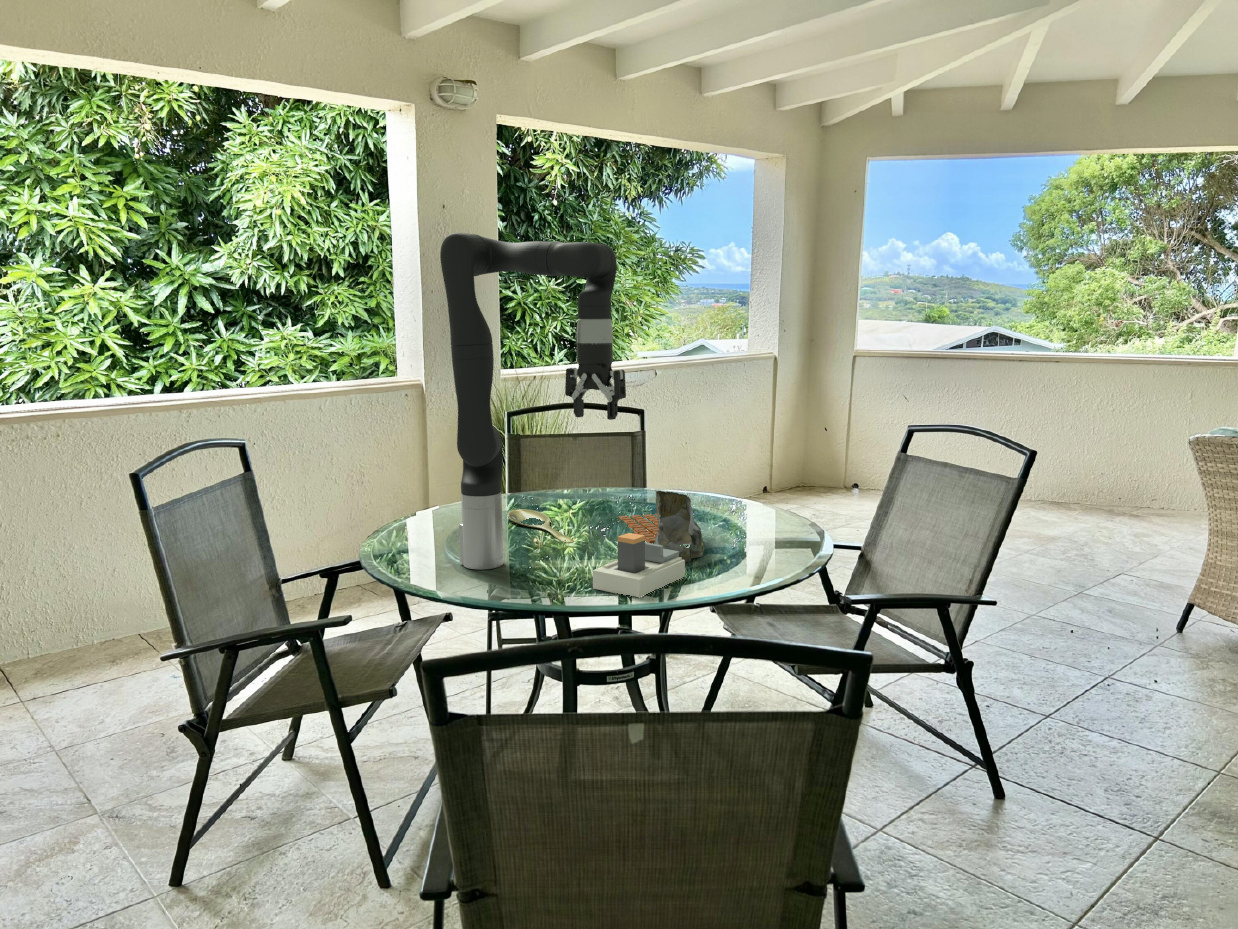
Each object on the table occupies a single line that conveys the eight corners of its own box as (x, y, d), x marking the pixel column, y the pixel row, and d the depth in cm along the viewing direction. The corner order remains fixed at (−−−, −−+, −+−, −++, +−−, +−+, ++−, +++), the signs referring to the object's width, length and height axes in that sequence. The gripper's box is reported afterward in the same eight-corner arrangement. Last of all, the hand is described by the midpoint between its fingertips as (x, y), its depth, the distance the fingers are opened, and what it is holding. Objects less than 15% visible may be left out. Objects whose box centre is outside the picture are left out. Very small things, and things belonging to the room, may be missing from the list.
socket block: (592, 588, 194) (592, 568, 194) (639, 568, 209) (639, 549, 208) (639, 598, 188) (639, 577, 187) (684, 577, 202) (684, 557, 201)
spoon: (588, 547, 236) (588, 539, 235) (551, 552, 230) (551, 544, 230) (534, 512, 265) (534, 505, 265) (499, 517, 260) (499, 510, 260)
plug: (629, 577, 199) (629, 532, 197) (645, 580, 196) (645, 535, 194) (617, 582, 195) (617, 536, 194) (633, 585, 193) (633, 539, 191)
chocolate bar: (664, 517, 264) (664, 512, 263) (701, 542, 235) (701, 537, 235) (616, 520, 260) (616, 515, 259) (648, 546, 231) (648, 540, 231)
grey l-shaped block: (632, 557, 202) (632, 541, 202) (649, 551, 208) (649, 535, 207) (663, 563, 198) (663, 547, 197) (679, 556, 203) (679, 540, 203)
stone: (693, 588, 213) (713, 533, 240) (702, 551, 209) (721, 500, 236) (623, 568, 216) (651, 516, 243) (631, 531, 212) (658, 483, 239)
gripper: (632, 341, 189) (633, 418, 192) (578, 339, 197) (579, 414, 200) (611, 342, 183) (612, 422, 186) (556, 340, 191) (557, 417, 194)
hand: (595, 418), depth 193 cm, fingers open, 8 cm apart
